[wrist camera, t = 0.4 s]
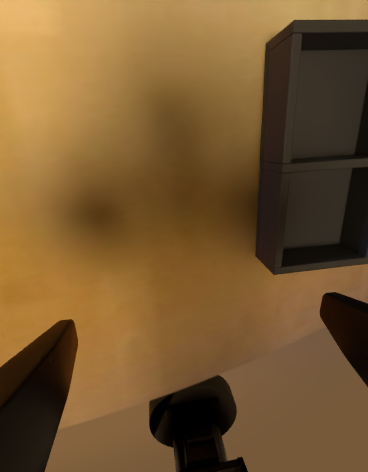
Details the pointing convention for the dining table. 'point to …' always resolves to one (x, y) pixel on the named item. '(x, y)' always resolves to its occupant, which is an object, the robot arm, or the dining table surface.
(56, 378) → the robot arm
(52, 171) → the dining table surface
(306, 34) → the tray
